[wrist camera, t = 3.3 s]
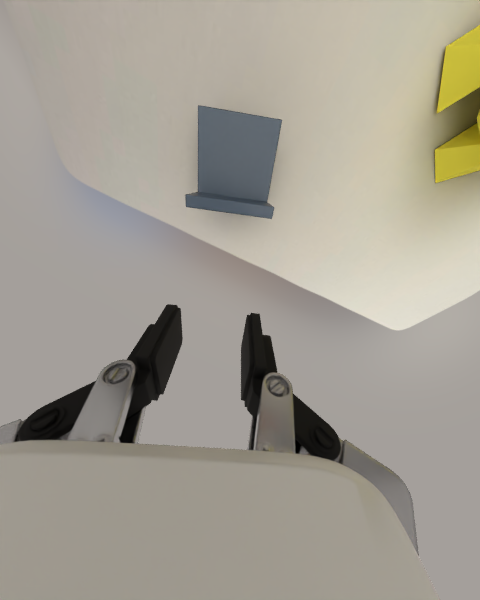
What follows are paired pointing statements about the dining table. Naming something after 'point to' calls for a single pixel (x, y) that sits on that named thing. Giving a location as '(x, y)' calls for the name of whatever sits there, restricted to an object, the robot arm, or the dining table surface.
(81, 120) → the dining table surface
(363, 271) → the dining table surface
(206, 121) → the chair
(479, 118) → the piggy bank
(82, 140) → the dining table surface
